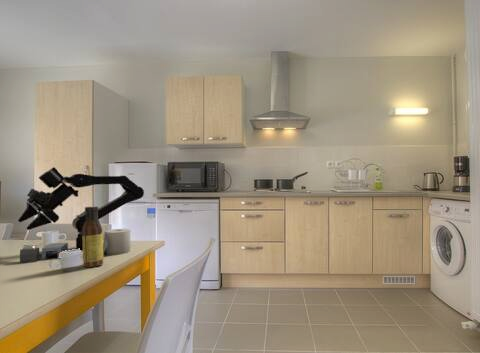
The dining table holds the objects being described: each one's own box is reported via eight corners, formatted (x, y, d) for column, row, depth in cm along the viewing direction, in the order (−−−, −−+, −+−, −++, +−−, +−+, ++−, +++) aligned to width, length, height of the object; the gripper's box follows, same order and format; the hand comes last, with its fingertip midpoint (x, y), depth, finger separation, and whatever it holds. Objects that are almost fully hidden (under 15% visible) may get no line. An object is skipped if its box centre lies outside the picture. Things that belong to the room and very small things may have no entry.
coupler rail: (49, 252, 123) (49, 239, 123) (35, 262, 109) (35, 247, 109) (35, 253, 122) (35, 240, 122) (19, 263, 108) (19, 248, 108)
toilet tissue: (97, 257, 115) (97, 234, 115) (111, 249, 128) (111, 228, 129) (121, 257, 115) (121, 234, 116) (133, 249, 129) (133, 228, 129)
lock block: (67, 253, 123) (67, 242, 123) (61, 258, 114) (61, 247, 114) (50, 254, 121) (50, 243, 121) (42, 259, 112) (42, 248, 113)
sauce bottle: (107, 263, 106) (107, 206, 106) (93, 268, 100) (93, 207, 100) (92, 262, 108) (92, 205, 108) (77, 267, 102) (77, 207, 103)
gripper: (35, 177, 125) (-2, 204, 117) (54, 188, 114) (15, 219, 106) (53, 195, 132) (20, 222, 124) (73, 208, 121) (37, 238, 113)
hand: (22, 225), depth 117 cm, fingers open, 9 cm apart
